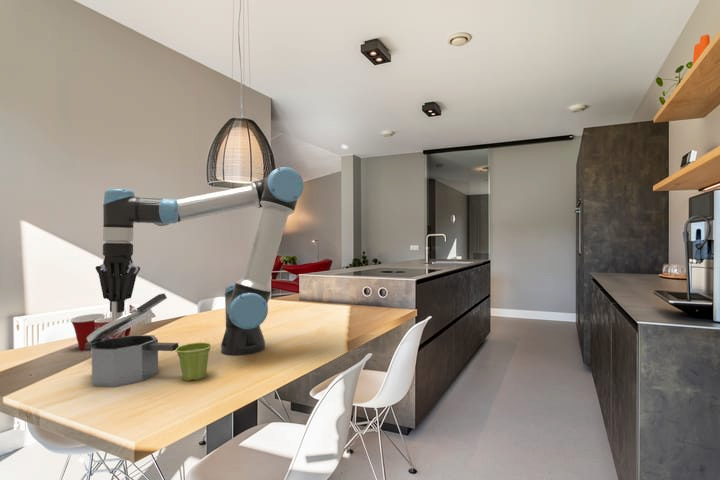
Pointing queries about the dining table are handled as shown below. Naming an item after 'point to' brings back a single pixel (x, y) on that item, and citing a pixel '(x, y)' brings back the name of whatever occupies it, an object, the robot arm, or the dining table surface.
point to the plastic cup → (84, 327)
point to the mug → (104, 321)
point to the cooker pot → (126, 359)
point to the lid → (125, 321)
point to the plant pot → (193, 360)
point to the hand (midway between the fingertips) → (116, 323)
